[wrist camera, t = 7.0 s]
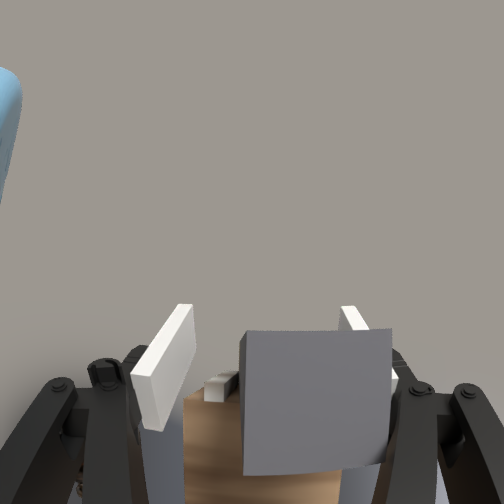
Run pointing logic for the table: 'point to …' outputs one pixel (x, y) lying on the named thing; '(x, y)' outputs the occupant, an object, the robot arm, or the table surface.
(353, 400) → the grey long bar
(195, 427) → the wooden block tower
